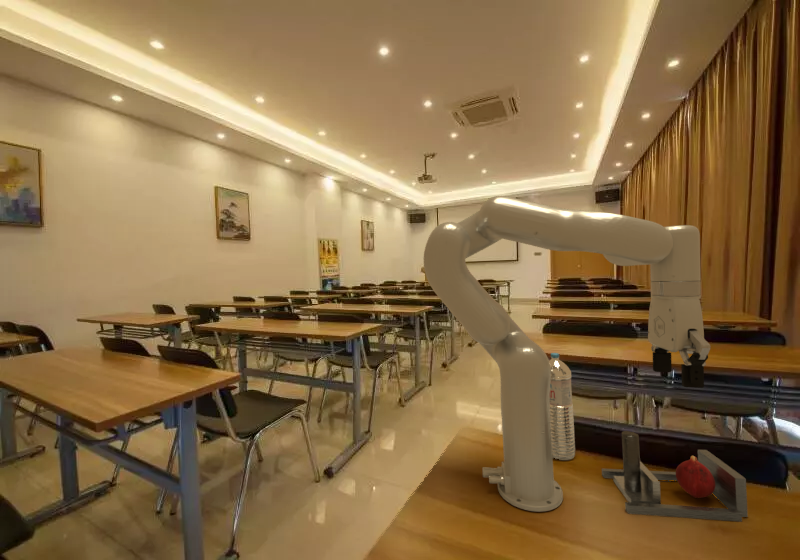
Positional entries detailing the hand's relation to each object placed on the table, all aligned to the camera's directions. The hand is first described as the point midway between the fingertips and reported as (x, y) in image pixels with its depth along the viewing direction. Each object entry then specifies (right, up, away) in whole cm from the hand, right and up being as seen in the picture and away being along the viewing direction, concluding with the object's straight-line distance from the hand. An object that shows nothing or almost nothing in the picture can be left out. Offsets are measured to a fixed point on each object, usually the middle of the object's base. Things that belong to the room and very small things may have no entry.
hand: (676, 378), depth 66 cm
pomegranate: (+4, -23, 0) cm, 24 cm away
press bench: (-1, -23, +1) cm, 23 cm away
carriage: (-7, -24, +2) cm, 25 cm away
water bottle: (-14, -24, +18) cm, 34 cm away
